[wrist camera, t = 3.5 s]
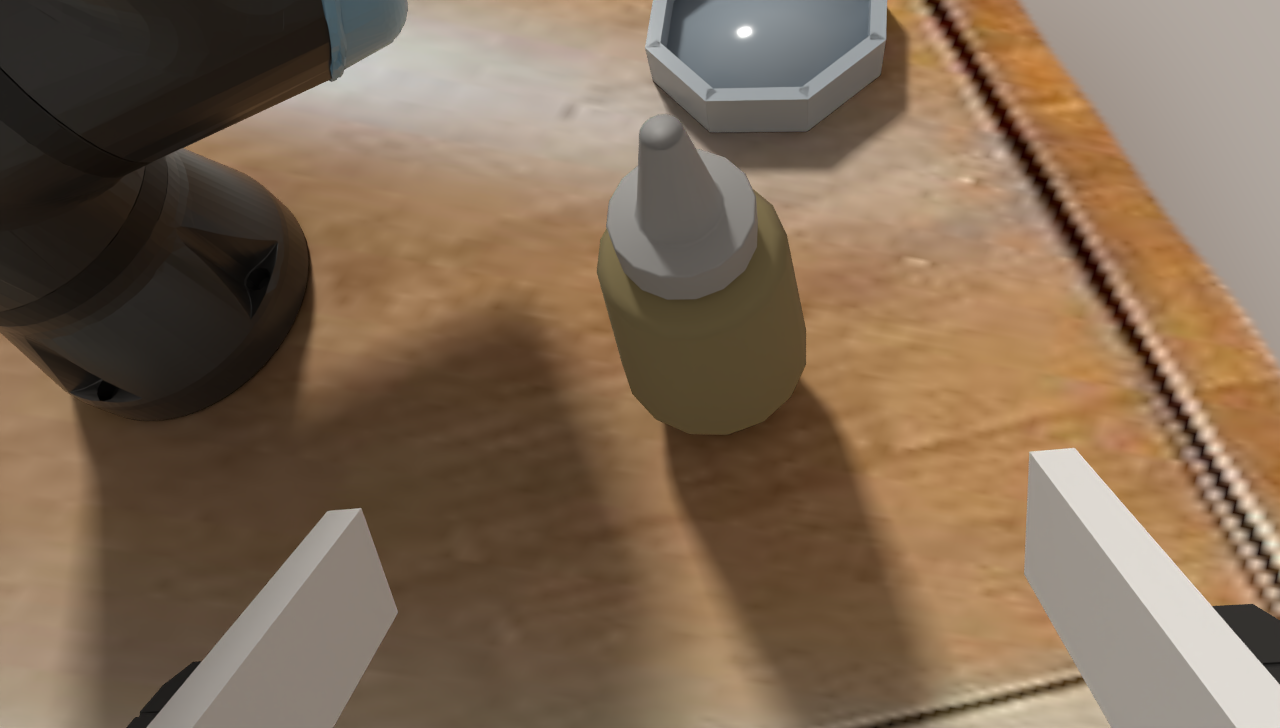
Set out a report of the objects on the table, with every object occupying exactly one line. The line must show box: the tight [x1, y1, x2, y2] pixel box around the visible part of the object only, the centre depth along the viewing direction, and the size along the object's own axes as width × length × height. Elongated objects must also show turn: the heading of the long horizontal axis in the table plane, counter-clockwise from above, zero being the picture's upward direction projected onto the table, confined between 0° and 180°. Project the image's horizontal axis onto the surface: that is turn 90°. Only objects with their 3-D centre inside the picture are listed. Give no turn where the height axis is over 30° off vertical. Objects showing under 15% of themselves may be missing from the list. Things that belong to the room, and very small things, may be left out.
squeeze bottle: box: [597, 114, 806, 435], centre depth 28 cm, size 8×8×18 cm
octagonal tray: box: [645, 0, 887, 132], centre depth 42 cm, size 13×13×2 cm
